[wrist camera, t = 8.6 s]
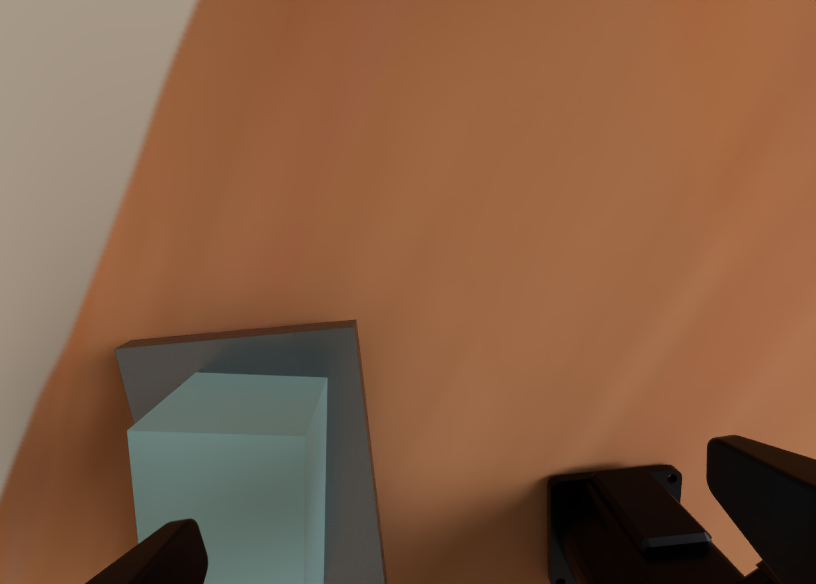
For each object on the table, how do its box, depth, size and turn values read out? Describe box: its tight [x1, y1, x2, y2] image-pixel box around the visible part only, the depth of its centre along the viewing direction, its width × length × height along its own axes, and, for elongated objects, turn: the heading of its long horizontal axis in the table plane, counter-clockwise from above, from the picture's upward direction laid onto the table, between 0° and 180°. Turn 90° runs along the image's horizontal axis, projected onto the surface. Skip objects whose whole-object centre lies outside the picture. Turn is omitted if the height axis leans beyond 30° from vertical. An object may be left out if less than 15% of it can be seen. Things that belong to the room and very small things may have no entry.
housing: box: [127, 372, 327, 584], centre depth 14 cm, size 5×10×4 cm, turn 176°
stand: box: [114, 320, 387, 584], centre depth 17 cm, size 13×9×2 cm
